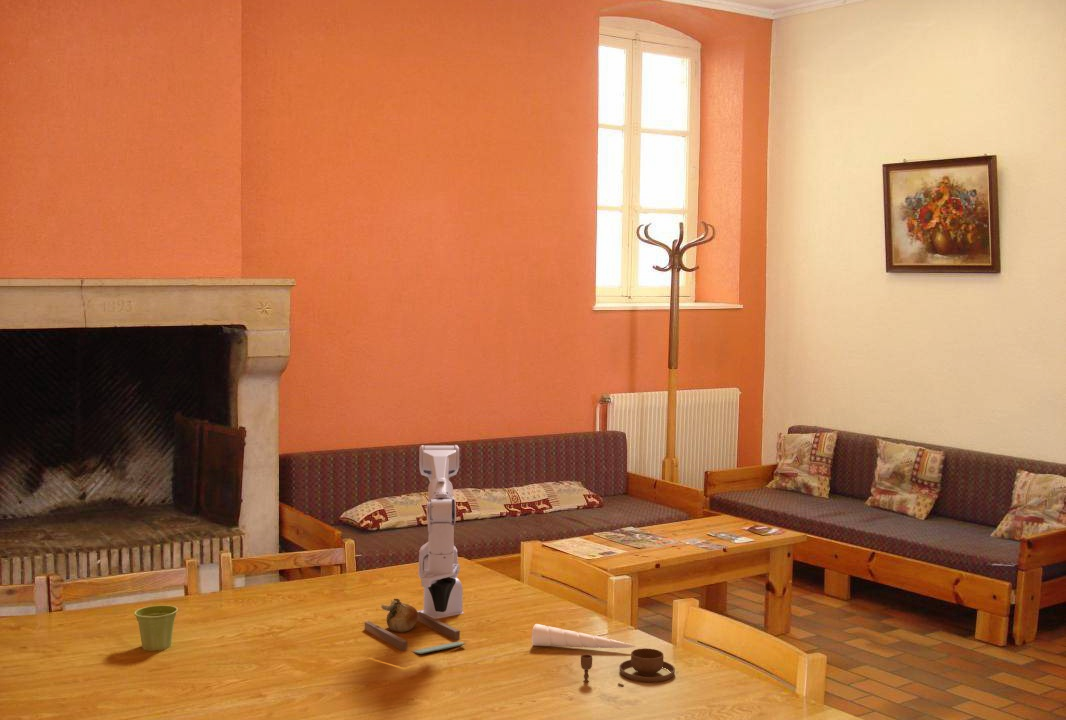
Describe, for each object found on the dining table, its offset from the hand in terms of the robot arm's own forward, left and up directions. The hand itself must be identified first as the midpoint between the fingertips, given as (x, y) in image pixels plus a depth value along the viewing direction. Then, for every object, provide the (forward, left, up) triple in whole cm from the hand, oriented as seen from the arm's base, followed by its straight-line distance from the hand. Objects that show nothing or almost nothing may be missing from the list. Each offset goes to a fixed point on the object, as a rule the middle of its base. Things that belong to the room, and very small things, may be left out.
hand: (440, 611), depth 248 cm
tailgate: (0, -3, -9) cm, 10 cm away
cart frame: (0, -13, -9) cm, 16 cm away
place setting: (-26, +34, -10) cm, 45 cm away
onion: (0, -18, -10) cm, 20 cm away
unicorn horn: (-31, +19, -14) cm, 39 cm away
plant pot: (+52, -38, -10) cm, 65 cm away
